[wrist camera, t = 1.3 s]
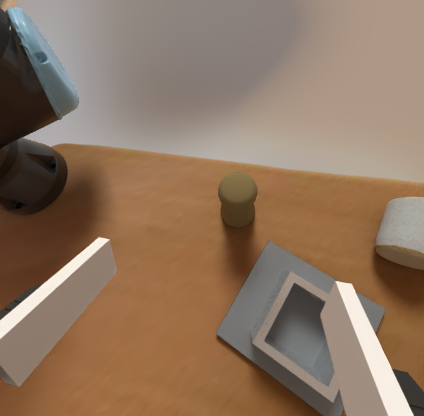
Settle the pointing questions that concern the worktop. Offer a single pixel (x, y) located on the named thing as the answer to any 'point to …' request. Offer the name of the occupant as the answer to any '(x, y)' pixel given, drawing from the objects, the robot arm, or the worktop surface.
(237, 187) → the cork
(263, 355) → the base plate
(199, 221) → the worktop surface
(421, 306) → the worktop surface
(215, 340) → the worktop surface
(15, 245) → the worktop surface
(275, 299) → the metal collar
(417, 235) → the ceramic mug
